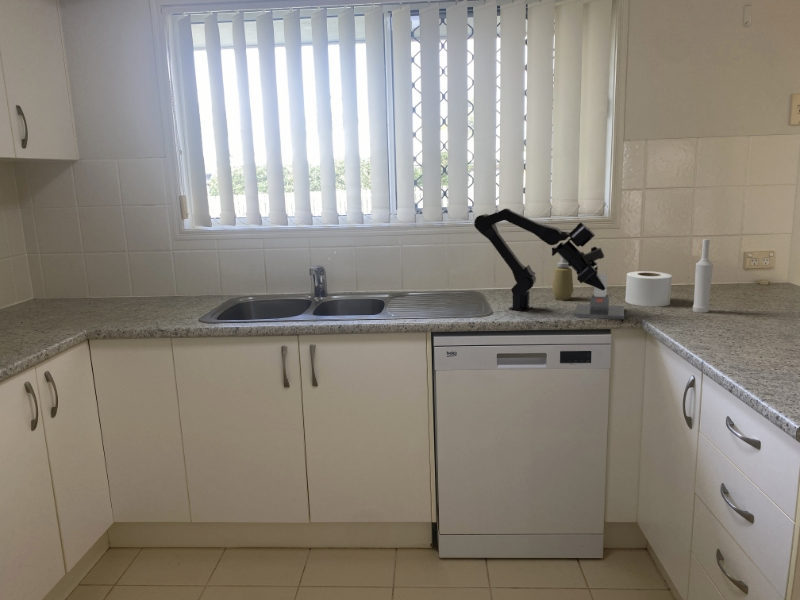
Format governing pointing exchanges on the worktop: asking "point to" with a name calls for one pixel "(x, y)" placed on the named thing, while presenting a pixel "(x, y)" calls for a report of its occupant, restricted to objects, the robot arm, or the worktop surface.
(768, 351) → the worktop surface
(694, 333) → the worktop surface
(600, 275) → the column
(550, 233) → the robot arm
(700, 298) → the bottle
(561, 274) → the squeeze bottle
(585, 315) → the stand
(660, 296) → the white toilet paper roll
